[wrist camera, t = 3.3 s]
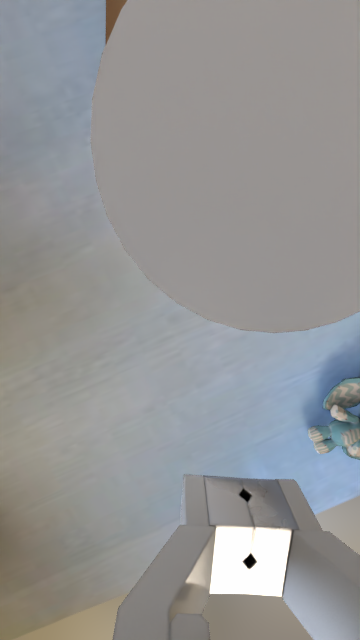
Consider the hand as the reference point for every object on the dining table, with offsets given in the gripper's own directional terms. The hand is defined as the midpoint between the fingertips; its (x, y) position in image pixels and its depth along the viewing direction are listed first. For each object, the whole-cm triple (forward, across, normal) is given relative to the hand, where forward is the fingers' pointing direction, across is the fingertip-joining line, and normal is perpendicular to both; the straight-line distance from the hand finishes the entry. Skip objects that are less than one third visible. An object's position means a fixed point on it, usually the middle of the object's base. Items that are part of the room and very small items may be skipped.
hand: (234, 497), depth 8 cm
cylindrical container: (+24, 0, -8) cm, 26 cm away
